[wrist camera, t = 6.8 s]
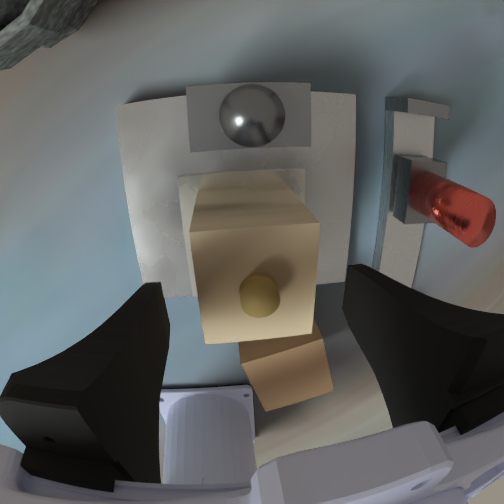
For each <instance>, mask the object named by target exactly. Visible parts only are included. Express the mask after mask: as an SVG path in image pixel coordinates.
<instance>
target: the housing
mask: <svg viewBox="0 0 504 504" xmlns="http://www.w3.org/2000/svg"><path fill="white" fill-rule="evenodd" d="M319 232H320V222H319V221H318V220H317V219H316V217H315V216H314V215H313V214H312V213H311V212H310V210H309V209H308V208H307V207H306V206H305V205H304V204H303V202H302V201H301V200H300V199H299V198H298V197H297V196H296V194H295V193H294V192H293V191H292V190H291V189H290V188H289V187H288V185H273V186H255V187H239V188H225V189H212V190H200V191H197V196H196V200H195V205H194V210H193V215H192V220H191V225H190V230H189V236H190V244H191V252H192V259H193V267H194V274H195V281H196V288H197V295H198V301H199V308H200V314H201V320H202V326H203V332H204V338H205V344H217V343H230V342H241V341H252V340H262V339H271V338H280V337H289V336H297V335H304V334H312V326H313V315H314V304H315V292H316V280H317V266H318V250H319Z"/></svg>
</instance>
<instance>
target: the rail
mask: <svg viewBox="0 0 504 504" xmlns="http://www.w3.org/2000/svg"><path fill="white" fill-rule="evenodd" d="M435 117H437V118H443V119H449V106H447V105H443V104H438V103H433V102H428V101H423V100H417V99H411V98H396V97H386V123H385V151H384V168H383V182H382V194H381V204H380V214H379V223H378V231H377V239H376V246H375V253H374V260H373V267H372V268H373V269H375V270H377V271H379V272H380V273H382V274H384V275H386V276H388V277H390V278H392V279H394V280H396V281H398V282H400V283H402V284H404V285H406V286H408V287H410V288H411V287H412V283H413V279H414V274H415V270H416V265H417V260H418V256H419V251H420V245H421V240H422V234H423V229H424V223H422V224H403V223H402V222H401V221H399V220H398V219H397V218H395V217H394V216H393V210H394V201H395V191H396V180H397V168H398V155H399V156H414V157H428V158H432V157H433V144H434V124H435Z"/></svg>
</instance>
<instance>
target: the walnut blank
mask: <svg viewBox="0 0 504 504" xmlns="http://www.w3.org/2000/svg"><path fill="white" fill-rule="evenodd" d="M238 343H239V352H240V360H241V365H242V367H243V369H244V371H245V373H246V375H247V377H248V379H249V381H250V383H251V385H252V387H253V389H254V390H255V392H256V394H257V396H258V398H259V400H260V402H261V404H262V406H263V408H264V410H265V411H266V412H267V411H270V410H274V409H278V408H281V407H285V406H288V405H292V404H295V403H298V402H302V401H305V400H308V399H311V398H314V397H317V396H320V395H323V394H326V393H329V392H332V391H334V390H333V385H332V380H331V375H330V370H329V365H328V360H327V355H326V351H325V346H324V341H323V338H322V335H321V333H320V331H319V328H318V326H317V324H316V322H315V319H314V317H313V326H312V334H304V335H297V336H289V337H280V338H271V339H262V340H252V341H241V342H238Z"/></svg>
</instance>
